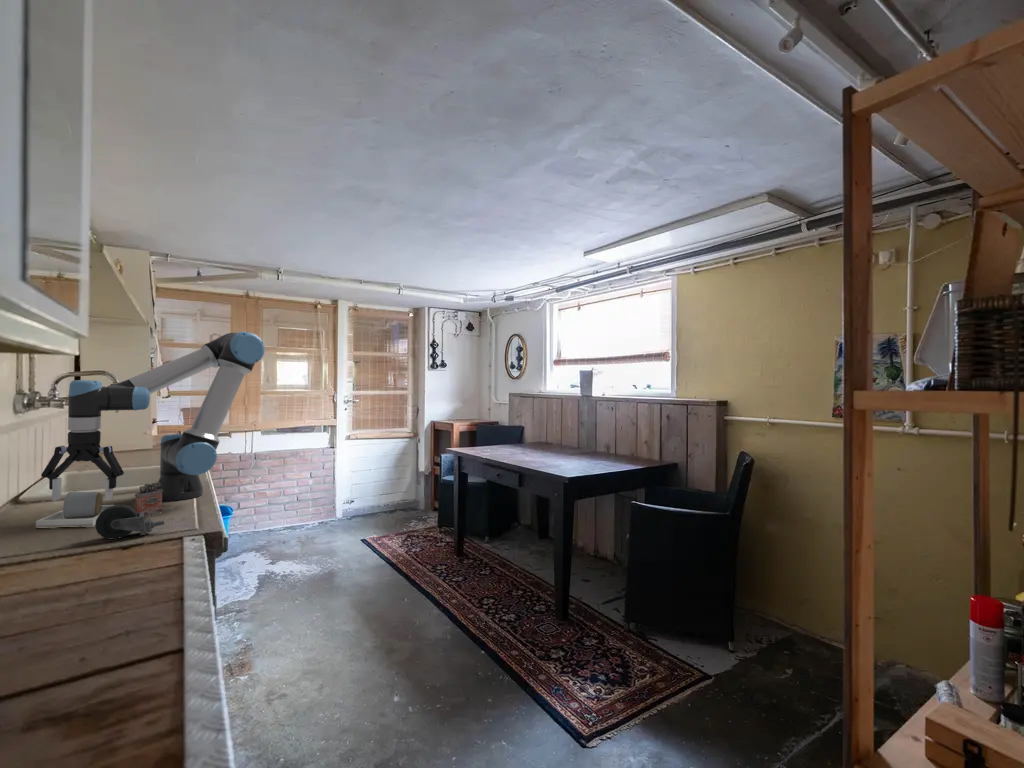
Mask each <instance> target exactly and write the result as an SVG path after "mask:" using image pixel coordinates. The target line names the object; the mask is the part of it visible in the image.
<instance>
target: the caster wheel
mask: <svg viewBox="0 0 1024 768" xmlns="http://www.w3.org/2000/svg"><path fill="white" fill-rule="evenodd" d="M113 505H114V506H110V507H108V508H106V509H105V510H103V511H102V512H101V513H100V515H99V516H98V518H97V519H96V524H95V526H94V528H95V530H96V532H97V534H98V535H100V537H102V538H104V539H108V538H119V537H122V538H124V536H125V537H127V536H128V535H129V534H131V533H133V532H138V533H140V536H141V535H145V536H146V532H147V533H151V532H152V531H153V529H154V528H155V527H158V526H162V525H165V520H160V521H156V522H155V521H152V519H151V518H148V519H147V518H146V516H145V512H141V513H137V512H136V509H134V508H133V507H132V506H129V505H126V504H113ZM119 539H120V538H119Z"/></svg>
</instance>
